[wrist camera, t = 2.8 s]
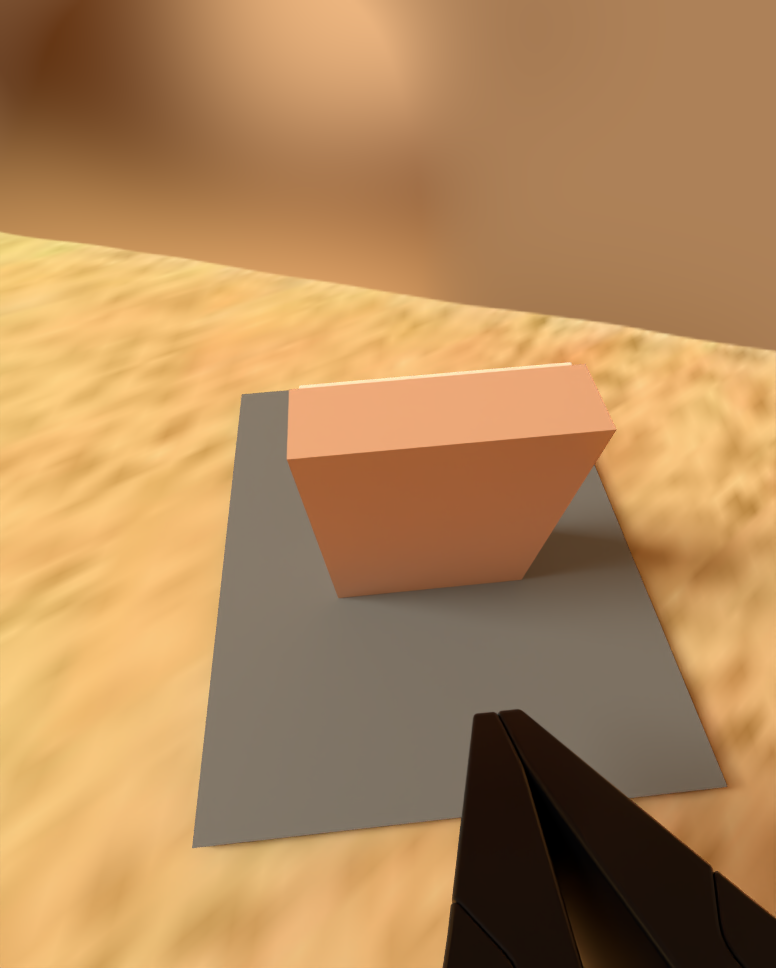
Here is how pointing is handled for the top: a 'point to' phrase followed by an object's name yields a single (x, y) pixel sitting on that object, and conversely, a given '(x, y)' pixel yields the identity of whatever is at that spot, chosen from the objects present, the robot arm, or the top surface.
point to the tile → (442, 471)
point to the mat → (420, 669)
